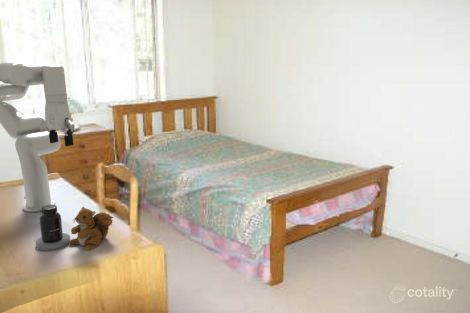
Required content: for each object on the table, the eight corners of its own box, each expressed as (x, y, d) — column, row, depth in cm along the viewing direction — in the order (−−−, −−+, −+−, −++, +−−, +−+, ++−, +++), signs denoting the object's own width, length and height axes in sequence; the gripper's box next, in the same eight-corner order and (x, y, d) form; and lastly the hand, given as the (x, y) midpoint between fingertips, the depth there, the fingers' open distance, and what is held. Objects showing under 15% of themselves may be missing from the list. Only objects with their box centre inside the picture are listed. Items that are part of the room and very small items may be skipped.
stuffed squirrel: (66, 245, 147) (62, 209, 144) (101, 231, 158) (98, 197, 155) (83, 253, 141) (79, 216, 138) (118, 238, 152) (115, 203, 148)
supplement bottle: (55, 244, 144) (51, 211, 141) (37, 242, 146) (33, 210, 143) (67, 235, 151) (63, 204, 148) (50, 234, 152) (46, 202, 149)
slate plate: (29, 245, 147) (29, 241, 147) (58, 234, 156) (58, 230, 156) (48, 254, 141) (47, 249, 141) (76, 241, 150) (76, 237, 149)
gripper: (33, 98, 160) (39, 143, 164) (61, 101, 150) (66, 149, 155) (52, 96, 166) (57, 139, 170) (79, 99, 156) (84, 145, 161)
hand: (61, 144), depth 163 cm, fingers open, 9 cm apart
